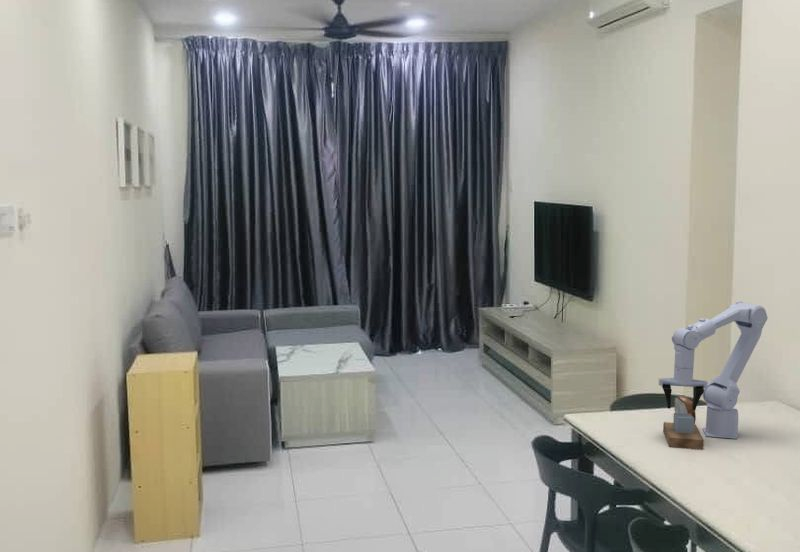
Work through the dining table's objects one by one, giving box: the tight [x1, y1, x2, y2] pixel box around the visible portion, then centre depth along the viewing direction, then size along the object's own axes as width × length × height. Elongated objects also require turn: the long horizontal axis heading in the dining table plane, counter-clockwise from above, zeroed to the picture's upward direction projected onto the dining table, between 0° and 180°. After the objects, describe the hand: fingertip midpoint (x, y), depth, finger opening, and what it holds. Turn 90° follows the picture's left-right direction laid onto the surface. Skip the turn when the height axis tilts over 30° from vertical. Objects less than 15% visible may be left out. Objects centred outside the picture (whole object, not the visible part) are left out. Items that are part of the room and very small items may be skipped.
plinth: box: [662, 421, 704, 450], centre depth 256 cm, size 10×16×3 cm, turn 168°
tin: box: [673, 394, 697, 424], centre depth 275 cm, size 15×3×8 cm, turn 179°
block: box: [672, 412, 694, 434], centre depth 256 cm, size 5×5×5 cm
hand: (681, 408), depth 257 cm, fingers open, 7 cm apart
